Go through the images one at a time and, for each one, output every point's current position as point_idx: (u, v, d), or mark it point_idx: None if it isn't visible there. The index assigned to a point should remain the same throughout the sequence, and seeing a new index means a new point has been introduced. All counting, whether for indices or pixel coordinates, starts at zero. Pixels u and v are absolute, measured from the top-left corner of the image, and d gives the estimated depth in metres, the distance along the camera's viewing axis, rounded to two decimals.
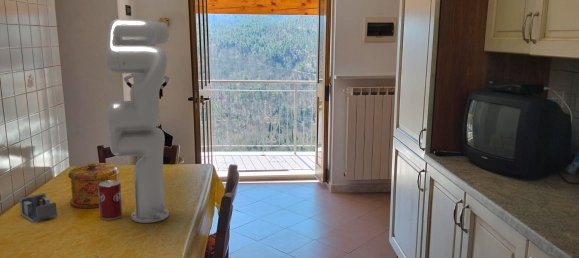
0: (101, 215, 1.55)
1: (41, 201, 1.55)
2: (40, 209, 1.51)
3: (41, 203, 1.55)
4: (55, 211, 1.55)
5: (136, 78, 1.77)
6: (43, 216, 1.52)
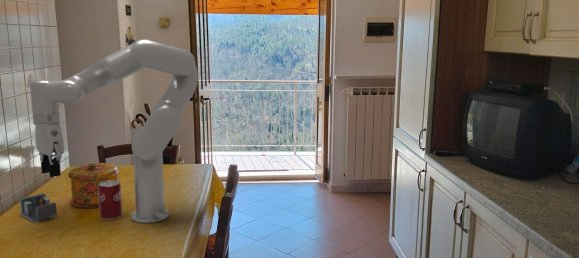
0: (101, 215, 1.55)
1: (41, 201, 1.55)
2: (40, 209, 1.51)
3: (41, 203, 1.55)
4: (55, 211, 1.55)
5: None
6: (43, 216, 1.52)
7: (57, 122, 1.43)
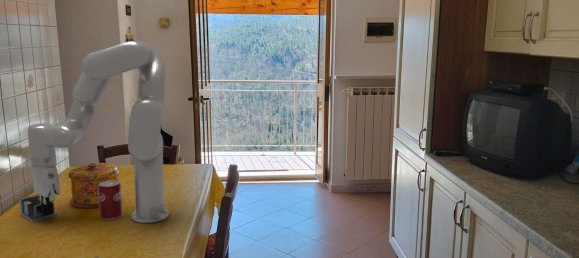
0: (101, 215, 1.55)
1: (39, 200, 1.56)
2: (38, 208, 1.52)
3: (39, 202, 1.56)
4: None
5: None
6: (41, 215, 1.53)
7: (53, 165, 1.49)
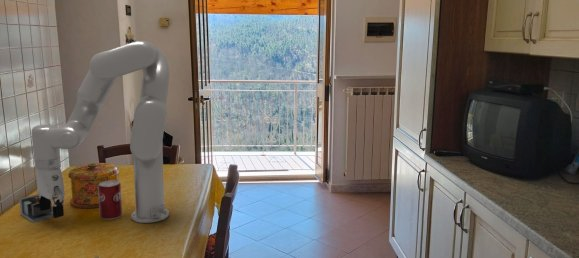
0: (101, 215, 1.55)
1: (36, 199, 1.57)
2: (35, 206, 1.53)
3: (36, 201, 1.57)
4: (50, 208, 1.57)
5: None
6: (38, 213, 1.54)
7: (58, 166, 1.47)
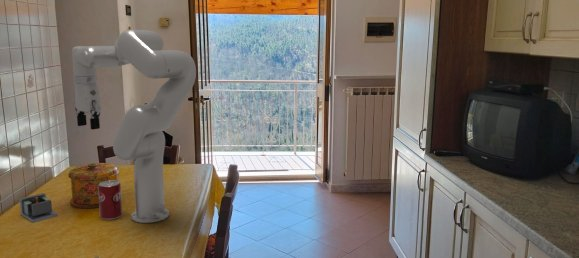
0: (101, 215, 1.55)
1: (36, 199, 1.57)
2: (35, 206, 1.53)
3: (36, 201, 1.57)
4: (50, 208, 1.57)
5: None
6: (38, 213, 1.54)
7: (95, 83, 1.64)
